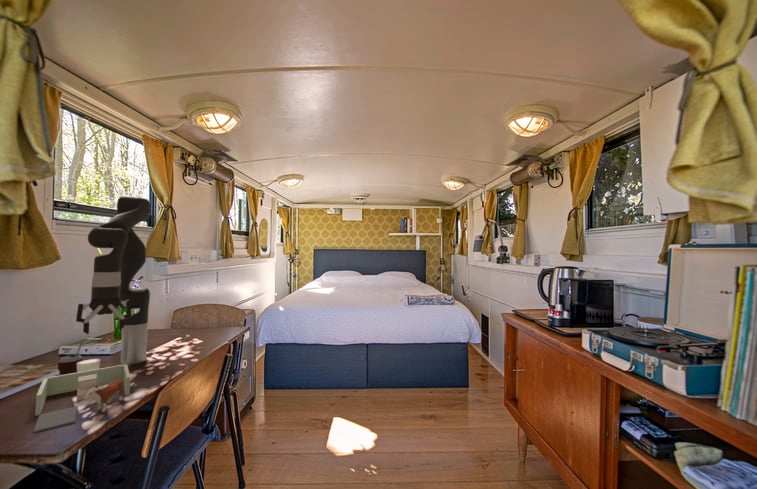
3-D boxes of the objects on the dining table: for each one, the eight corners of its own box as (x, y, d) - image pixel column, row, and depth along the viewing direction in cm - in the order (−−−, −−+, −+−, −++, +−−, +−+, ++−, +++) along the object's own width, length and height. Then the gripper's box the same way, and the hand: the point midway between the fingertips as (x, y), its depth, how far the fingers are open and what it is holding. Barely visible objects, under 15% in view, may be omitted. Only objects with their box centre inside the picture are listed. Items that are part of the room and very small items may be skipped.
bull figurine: (79, 418, 91) (80, 390, 91) (114, 398, 104) (115, 373, 105) (94, 418, 91) (96, 390, 91) (128, 398, 104) (129, 373, 105)
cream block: (77, 396, 106) (78, 377, 106) (95, 392, 109) (96, 374, 109) (76, 400, 102) (77, 381, 102) (95, 396, 105) (96, 377, 106)
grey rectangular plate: (39, 416, 92) (39, 414, 92) (77, 407, 97) (77, 406, 97) (33, 433, 83) (33, 431, 83) (75, 422, 89) (75, 420, 89)
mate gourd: (52, 380, 118) (54, 341, 119) (65, 373, 126) (67, 336, 127) (77, 378, 121) (79, 339, 122) (88, 371, 128) (90, 335, 129)
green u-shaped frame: (42, 396, 105) (44, 378, 106) (126, 379, 120) (126, 364, 120) (35, 415, 92) (36, 395, 92) (129, 394, 107) (130, 377, 107)
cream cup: (76, 384, 115) (77, 365, 116) (74, 379, 120) (75, 361, 120) (100, 379, 120) (101, 361, 121) (98, 374, 125) (99, 357, 125)
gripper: (131, 283, 116) (129, 327, 115) (78, 285, 106) (75, 333, 105) (133, 284, 110) (131, 330, 110) (78, 286, 101) (75, 337, 100)
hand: (104, 331), depth 107 cm, fingers open, 8 cm apart
